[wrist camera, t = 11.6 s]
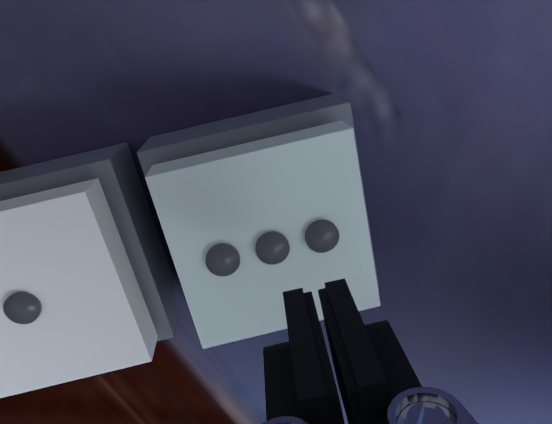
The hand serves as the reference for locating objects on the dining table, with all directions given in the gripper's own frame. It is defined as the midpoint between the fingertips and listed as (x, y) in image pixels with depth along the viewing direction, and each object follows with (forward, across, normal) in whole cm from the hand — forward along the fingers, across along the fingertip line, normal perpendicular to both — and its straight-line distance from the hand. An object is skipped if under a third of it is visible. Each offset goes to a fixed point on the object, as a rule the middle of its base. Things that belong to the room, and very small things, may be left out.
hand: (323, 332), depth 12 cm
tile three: (+9, +1, -1) cm, 10 cm away
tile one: (+9, +10, -1) cm, 14 cm away
